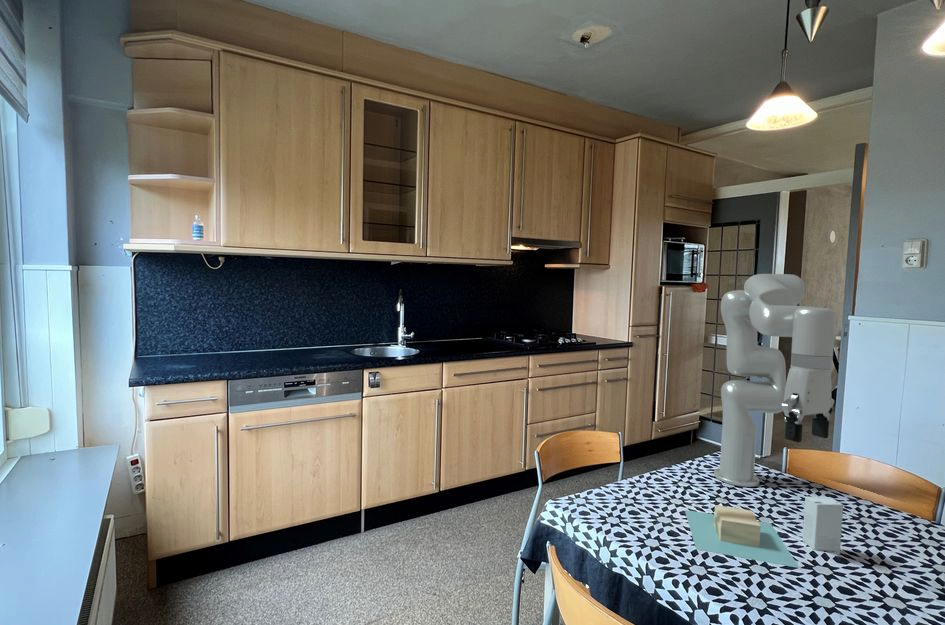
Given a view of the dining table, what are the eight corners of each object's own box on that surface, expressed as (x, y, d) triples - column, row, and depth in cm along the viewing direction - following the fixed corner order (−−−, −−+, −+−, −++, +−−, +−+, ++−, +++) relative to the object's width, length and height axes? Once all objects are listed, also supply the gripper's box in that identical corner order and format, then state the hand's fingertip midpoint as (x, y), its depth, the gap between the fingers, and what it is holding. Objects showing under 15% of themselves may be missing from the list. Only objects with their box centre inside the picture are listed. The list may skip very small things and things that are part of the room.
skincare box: (826, 545, 111) (830, 495, 110) (841, 556, 106) (845, 504, 106) (800, 545, 111) (803, 494, 110) (813, 555, 106) (817, 503, 106)
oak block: (713, 524, 117) (715, 505, 117) (750, 530, 115) (751, 510, 114) (720, 540, 109) (721, 519, 109) (759, 547, 107) (760, 526, 107)
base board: (684, 514, 125) (684, 509, 124) (770, 527, 119) (770, 523, 118) (695, 554, 105) (696, 549, 105) (799, 573, 100) (799, 567, 99)
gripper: (816, 359, 112) (812, 430, 112) (769, 361, 104) (765, 437, 105) (852, 364, 105) (847, 439, 105) (805, 366, 98) (800, 447, 98)
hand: (806, 438), depth 105 cm, fingers open, 9 cm apart
